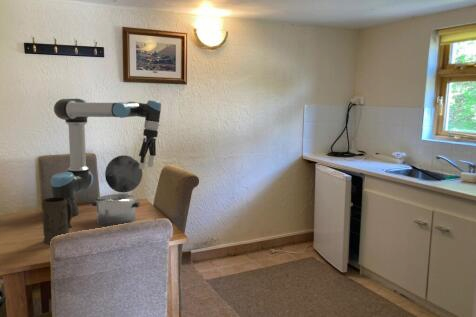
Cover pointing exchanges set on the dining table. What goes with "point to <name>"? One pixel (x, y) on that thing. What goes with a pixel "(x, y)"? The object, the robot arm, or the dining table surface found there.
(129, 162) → the cooker lid
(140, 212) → the dining table surface
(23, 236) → the dining table surface
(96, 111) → the robot arm
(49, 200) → the beer stein
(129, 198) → the cooker pot
